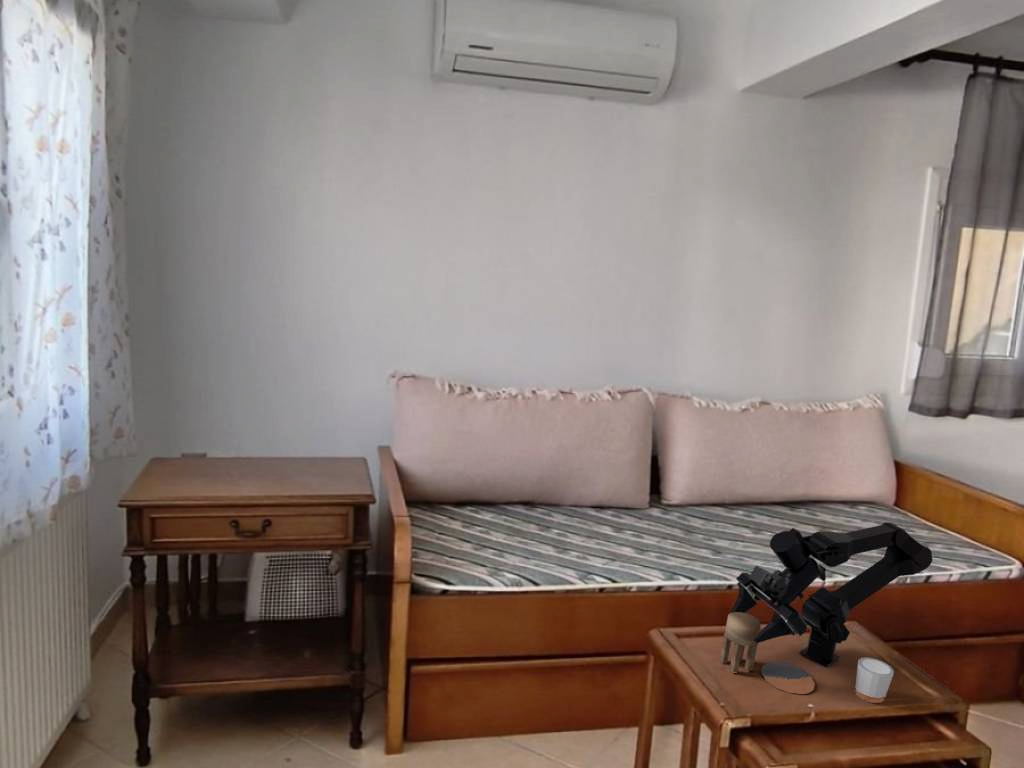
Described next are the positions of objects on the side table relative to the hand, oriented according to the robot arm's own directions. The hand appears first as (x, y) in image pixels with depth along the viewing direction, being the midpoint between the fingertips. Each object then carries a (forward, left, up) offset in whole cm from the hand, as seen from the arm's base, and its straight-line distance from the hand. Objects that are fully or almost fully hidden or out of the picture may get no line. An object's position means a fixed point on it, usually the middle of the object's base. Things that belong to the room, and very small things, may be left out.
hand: (742, 629), depth 168 cm
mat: (-6, +9, -9) cm, 14 cm away
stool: (0, 0, -9) cm, 9 cm away
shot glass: (-16, +22, -9) cm, 29 cm away
